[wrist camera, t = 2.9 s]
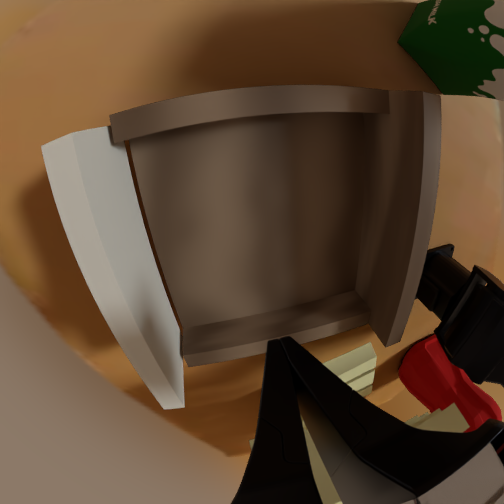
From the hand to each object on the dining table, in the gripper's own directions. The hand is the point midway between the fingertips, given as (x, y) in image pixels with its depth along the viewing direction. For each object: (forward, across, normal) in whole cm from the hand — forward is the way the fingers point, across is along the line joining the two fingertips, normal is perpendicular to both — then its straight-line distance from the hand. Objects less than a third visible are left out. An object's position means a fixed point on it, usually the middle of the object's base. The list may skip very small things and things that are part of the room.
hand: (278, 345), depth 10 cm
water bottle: (+12, -26, +28) cm, 40 cm away
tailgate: (+10, +6, 0) cm, 12 cm away
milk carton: (+12, -20, -15) cm, 28 cm away
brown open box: (+12, -2, 0) cm, 12 cm away
